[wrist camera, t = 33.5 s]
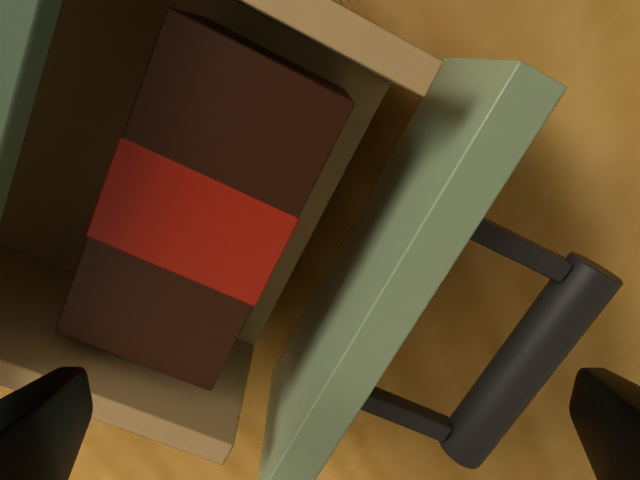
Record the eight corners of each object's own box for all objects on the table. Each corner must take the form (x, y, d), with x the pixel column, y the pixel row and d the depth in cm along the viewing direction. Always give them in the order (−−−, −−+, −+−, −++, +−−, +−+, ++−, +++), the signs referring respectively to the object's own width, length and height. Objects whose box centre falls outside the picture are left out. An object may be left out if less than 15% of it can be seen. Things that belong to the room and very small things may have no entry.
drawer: (598, 141, 17) (749, 190, 11) (403, 423, 21) (437, 567, 15) (32, -172, 14) (-182, -340, 8) (-63, 236, 18) (-248, 327, 12)
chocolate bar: (347, 90, 15) (358, 104, 11) (234, 321, 18) (212, 394, 14) (204, 16, 14) (164, 4, 11) (109, 269, 17) (50, 332, 13)
